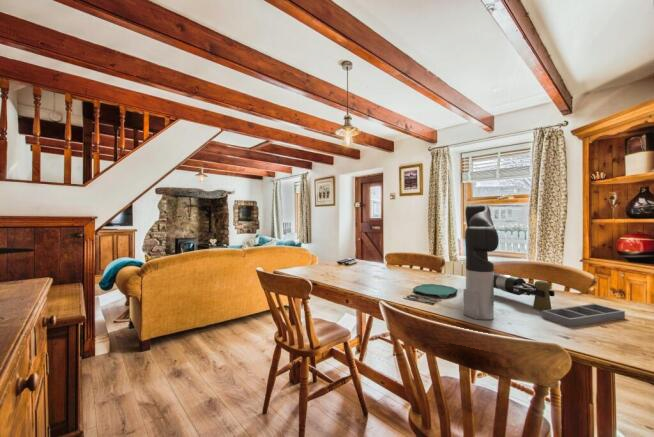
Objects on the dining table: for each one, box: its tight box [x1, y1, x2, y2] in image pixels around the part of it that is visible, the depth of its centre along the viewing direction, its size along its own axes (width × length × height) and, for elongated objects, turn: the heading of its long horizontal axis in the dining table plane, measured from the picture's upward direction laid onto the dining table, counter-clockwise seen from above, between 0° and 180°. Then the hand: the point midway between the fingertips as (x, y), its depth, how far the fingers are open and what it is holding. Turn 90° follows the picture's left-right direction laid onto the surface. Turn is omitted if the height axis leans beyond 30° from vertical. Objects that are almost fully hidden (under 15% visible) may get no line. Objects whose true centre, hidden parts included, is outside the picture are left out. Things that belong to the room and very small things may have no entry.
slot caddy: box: [541, 303, 626, 328], centre depth 107 cm, size 27×10×2 cm, turn 107°
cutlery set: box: [402, 283, 459, 306], centre depth 139 cm, size 20×30×2 cm, turn 136°
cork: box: [532, 280, 553, 312], centre depth 117 cm, size 6×6×11 cm
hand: (549, 294), depth 114 cm, fingers closed on cork, 4 cm apart
